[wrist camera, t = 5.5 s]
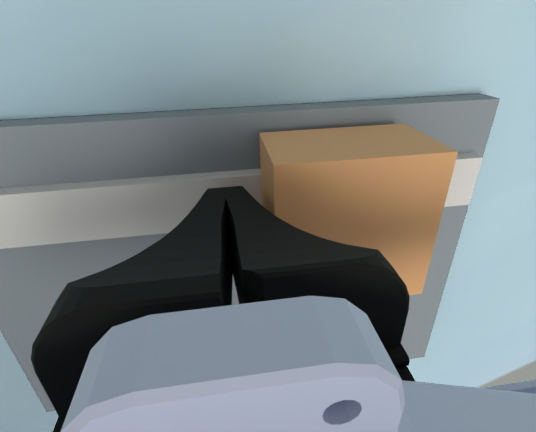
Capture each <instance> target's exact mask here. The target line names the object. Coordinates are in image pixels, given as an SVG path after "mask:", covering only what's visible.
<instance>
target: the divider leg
mask: <svg viewBox="0 0 536 432" xmlns="http://www.w3.org/2000/svg"><path fill="white" fill-rule="evenodd" d="M259 138H260V166H261V193H262V206H263V207H264V208H266V209H267V210H268V211H270V212H271V213H272V214H274V215H275V216H277V217H278V218H280V219H281V220H283V221H285V222H287V223H289V224H290V225H292V226H294V227H296V228H298V229H300V230H303V231H305V232H308V233H310V234H313V235H315V236H318V237H321V238H324V239H327V240H331V241H335V242H339V243H343V244H347V245H353V246H359V247H365V248H371V249H377V250H379V251H380V252H381V253H382V255H383V256H384V257H385V258H386V259H387V260H388V261H389V263H390V264H391V265H392V266H393V268H394V269H395V271H396V272H397V273H398V275H399V276H400V278H401V279H402V280H403V282H404V283H405V284H406V287H407V290H408V293H409V295H416V294H422V292H423V288H424V284H425V280H426V276H427V272H428V268H429V264H430V260H431V256H432V252H433V248H434V244H435V241H436V237H437V233H438V229H439V225H440V221H441V217H442V213H443V209H444V205H445V201H446V197H447V193H448V189H449V185H450V182H451V178H452V174H453V170H454V166H455V162H456V158H457V154H458V151H456V150H454V149H452V148H450V147H448V146H446V145H444V144H443V143H441V142H439V141H437V140H435V139H433V138H431V137H429V136H427V135H425V134H423V133H422V132H420V131H418V130H416V129H414V128H412V127H410V126H408V125H406V124H404V123H403V124H387V125H372V126H356V127H340V128H325V129H309V130H294V131H278V132H263V133H259Z"/></svg>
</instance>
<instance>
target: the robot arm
mask: <svg viewBox="0 0 536 432" xmlns="http://www.w3.org/2000/svg"><path fill="white" fill-rule="evenodd" d="M233 277H234V282H235V287H236V291H237V296H238V301H239V304H236V305H232V283H233ZM409 300H410V296H409V293H408V290H407V287H406V284H405V283H404V282H403V280H402V279H401V278H400V276H399V275H398V273H397V272H396V271H395V269H394V268H393V266H392V265H391V264H390V263H389V261H388V260H387V259H386V258H385V257H384V256H383V255H382V253H381V252H380V251H379V250H377V249H371V248H365V247H359V246H353V245H347V244H343V243H339V242H335V241H331V240H327V239H324V238H321V237H318V236H315V235H313V234H310V233H308V232H305V231H303V230H300V229H298V228H296V227H294V226H292V225H290V224H289V223H287V222H285V221H283V220H281V219H280V218H278V217H277V216H275V215H274V214H272V213H271V212H270V211H268V210H267V209H266V208H264V207H263V206H262V205H261V204H260V203H259V202H258V201H257V200H255V199H254V198H253V197H252V196H251V195H250V193H249V192H248V191H247V190H246V189H245V188H244V187H243V186H233V187H221V188H208V189H207V190H206V191H205V192H204V194H203V195H202V197H201V198H200V200H199V201H198V202H197V204H196V205H195V206H194V208H193V209H192V210H191V211H190V213H189V214H188V215H187V216H186V217H185V218H184V219H183V220H182V221H181V222H180V223H179V224H178V225H177V226H176V227H175V228H174V229H173V230H172V231H171V232H169V233H168V234H167V235H165V236H164V237H163V238H162V239H160V240H159V241H157V242H156V243H154V244H153V245H151V246H149V247H148V248H146V249H145V250H143V251H141V252H140V253H138V254H136V255H135V256H133V257H131V258H129V259H127V260H125V261H123V262H121V263H118V264H116V265H114V266H112V267H110V268H107V269H105V270H103V271H100V272H97V273H95V274H92V275H89V276H86V277H84V278H81V279H78V280H76V281H73V282H69V283H67V285H66V286H65V288H64V289H63V291H62V293H61V294H60V296H59V297H58V299H57V300H56V302H55V304H54V306H53V308H52V309H51V311H50V313H49V315H48V317H47V319H46V321H45V322H44V324H43V326H42V328H41V330H40V332H39V333H38V335H37V337H36V339H35V341H34V343H33V345H32V353H31V361H32V365H33V368H34V371H35V374H36V375H37V377H38V379H39V381H40V383H41V385H42V386H43V388H44V390H45V392H46V394H47V396H48V397H49V399H50V401H51V403H52V405H53V407H54V408H55V410H56V412H57V414H58V416H59V417H58V420H57V423H56V425H55V428H54V430H53V432H536V380H530V381H524V382H518V383H512V384H505V385H499V386H493V387H487V388H474V387H464V386H454V385H445V384H435V383H425V382H415V380H414V378H413V376H412V375H411V373H410V371H409V369H408V368H407V366H406V365H409V356H408V354H407V353H406V351H405V349H404V348H403V346H402V344H401V341H402V336H403V332H404V328H405V324H406V319H407V315H408V311H409Z"/></svg>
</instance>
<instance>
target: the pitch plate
mask: <svg viewBox="0 0 536 432" xmlns="http://www.w3.org/2000/svg"><path fill="white" fill-rule="evenodd" d="M499 100H500V99H499V98H496V97H492V96H488V95H484V94H467V95H449V96H431V97H413V98H395V99H377V100H359V101H341V102H323V103H305V104H287V105H269V106H251V107H233V108H215V109H197V110H179V111H161V112H143V113H125V114H107V115H89V116H71V117H53V118H35V119H17V120H0V330H1V332H2V334H3V336H4V337H5V339H6V341H7V343H8V344H9V346H10V348H11V350H12V351H13V353H14V355H15V357H16V359H17V360H18V362H19V364H20V366H21V367H22V369H23V371H24V373H25V374H26V376H27V378H28V380H29V381H30V383H31V385H32V387H33V389H34V390H35V392H36V394H37V396H38V397H39V399H40V401H41V403H42V404H43V406H44V408H45V410H46V411H47V412H48V411H55V408H54V407H53V405H52V403H51V401H50V399H49V397H48V396H47V394H46V392H45V390H44V388H43V386H42V385H41V383H40V381H39V379H38V377H37V375H36V374H35V371H34V368H33V365H32V361H31V353H32V345H33V343H34V341H35V339H36V337H37V335H38V333H39V332H40V330H41V328H42V326H43V324H44V322H45V321H46V319H47V317H48V315H49V313H50V311H51V309H52V308H53V306H54V304H55V302H56V300H57V299H58V297H59V296H60V294H61V293H62V291H63V289H64V288H65V286H66V285H67V283H69V282H73V281H76V280H78V279H81V278H84V277H86V276H89V275H92V274H95V273H97V272H100V271H103V270H105V269H107V268H110V267H112V266H114V265H116V264H118V263H121V262H123V261H125V260H127V259H129V258H131V257H133V256H135V255H136V254H138V253H140V252H141V251H143V250H145V249H146V248H148V247H149V246H151V245H153V244H154V243H156V242H157V241H159V240H160V239H162V238H163V237H164V236H165V235H167V234H168V233H169V232H171V231H172V230H173V229H174V228H175V227H176V226H177V225H178V224H179V223H180V222H181V221H182V220H183V219H184V218H185V217H186V216H187V215H188V214H189V213H190V211H191V210H192V209H193V208H194V206H195V205H196V204H197V202H198V201H199V200H200V198H201V197H202V195H203V194H204V192H205V191H206V190H207V189H208V188H221V187H233V186H243V187H244V188H245V189H246V190H247V191H248V192H249V193H250V195H251V196H252V197H253V198H254V199H255V200H257V201H258V202H259V203H260V204H261V205H262V193H261V166H260V138H259V133H263V132H278V131H294V130H309V129H325V128H340V127H356V126H372V125H387V124H403V123H404V124H406V125H408V126H410V127H412V128H414V129H416V130H418V131H420V132H422V133H423V134H425V135H427V136H429V137H431V138H433V139H435V140H437V141H439V142H441V143H443V144H444V145H446V146H448V147H450V148H452V149H454V150H456V151H458V154H457V158H456V162H455V166H454V170H453V174H452V178H451V182H450V185H449V189H448V193H447V197H446V201H445V205H444V209H443V213H442V217H441V221H440V225H439V229H438V233H437V237H436V241H435V244H434V248H433V252H432V256H431V260H430V264H429V268H428V272H427V276H426V280H425V284H424V288H423V292H422V294H416V295H409V296H410V300H409V311H408V315H407V319H406V324H405V328H404V332H403V336H402V341H401V344H402V346H403V348H404V349H405V351H406V353H407V354H408V356H409V359H412V358H419V357H424V356H425V352H426V349H427V345H428V342H429V339H430V335H431V332H432V328H433V325H434V321H435V318H436V315H437V311H438V308H439V304H440V301H441V298H442V294H443V291H444V287H445V284H446V280H447V277H448V274H449V270H450V267H451V263H452V260H453V257H454V253H455V250H456V246H457V243H458V240H459V236H460V233H461V229H462V226H463V222H464V219H465V216H466V212H467V209H468V205H469V203H470V200H471V197H472V193H473V190H474V186H475V183H476V179H477V176H478V173H479V169H480V166H481V162H482V159H483V154H484V151H485V147H486V144H487V140H488V137H489V134H490V130H491V127H492V123H493V120H494V117H495V113H496V110H497V106H498V103H499ZM236 304H239V301H238V296H237V291H236V287H235V282H234V277H233V283H232V305H236Z"/></svg>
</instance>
